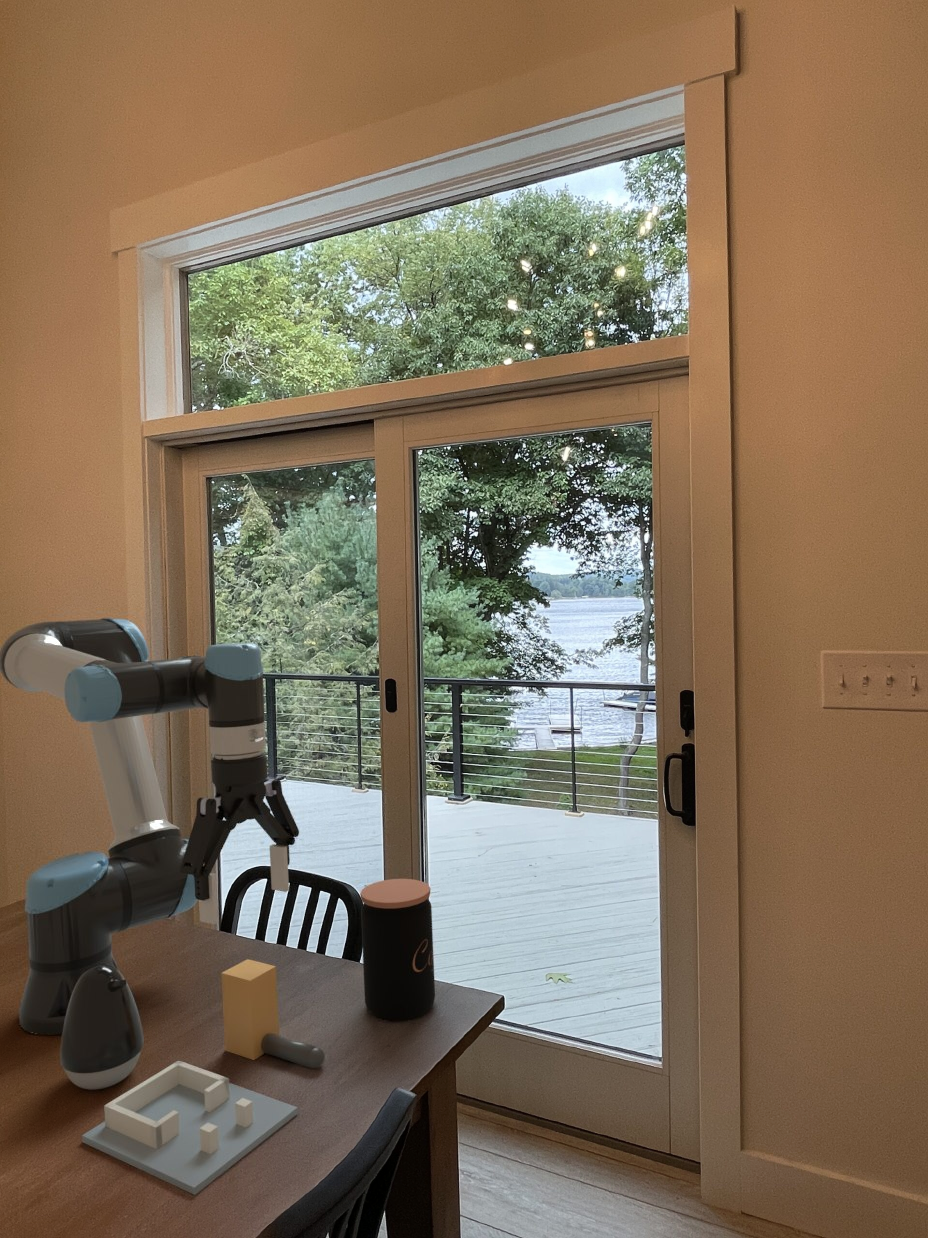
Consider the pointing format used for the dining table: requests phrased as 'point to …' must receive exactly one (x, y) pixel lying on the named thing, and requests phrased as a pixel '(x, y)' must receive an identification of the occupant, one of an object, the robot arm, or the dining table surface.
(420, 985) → the coffee jar
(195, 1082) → the board
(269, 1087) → the dining table surface
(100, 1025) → the dark grey egg shape
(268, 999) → the plug
